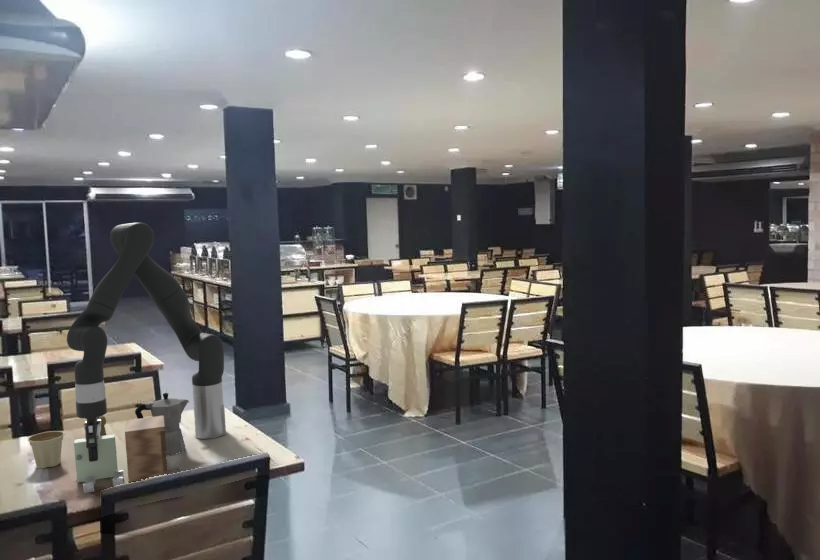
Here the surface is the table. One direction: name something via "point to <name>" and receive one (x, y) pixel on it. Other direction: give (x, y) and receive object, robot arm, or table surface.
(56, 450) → the flower pot
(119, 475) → the small rectangular blocks
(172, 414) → the coffeepot
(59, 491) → the table surface
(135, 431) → the brown wooden box
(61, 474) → the table surface
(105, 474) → the door panel
